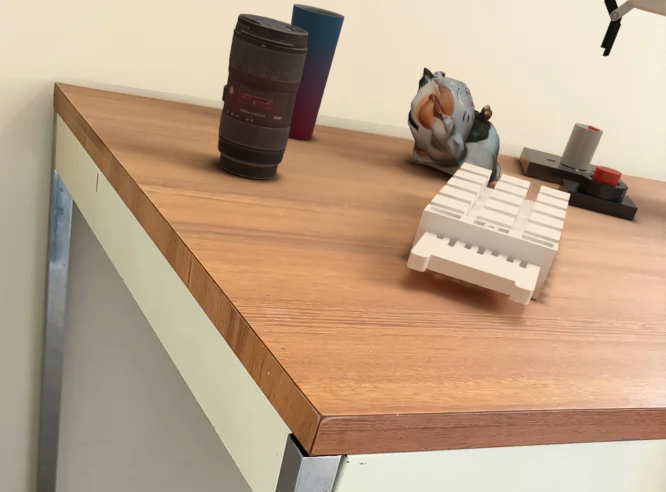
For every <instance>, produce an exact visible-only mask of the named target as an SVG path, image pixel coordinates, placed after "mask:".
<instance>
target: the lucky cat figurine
mask: <svg viewBox="0 0 666 492" xmlns="http://www.w3.org/2000/svg"><path fill="white" fill-rule="evenodd" d="M475 107H476V106H475V103H474V100H473V96H472V93H471V91H470V88H469V87H468V86H467V84H466V82H463V81H461V80H459V79H455V78H452V77H447V76H446V72H443V70H438V71H435V72H432V71H431V70H430V69H429V68H427V67H423V71H422V76H421V78H420V79H419V80H418V88H417V92H416V94H415V96H414V97H413V98H412V100H411V102H410V109H409V112H408V114H407V125H408V127H409V131H410V132H411V136H412V138H413V140H414V144H413V149H412V157H411V158H412V159H411V160H412V163H413V164H420V165H425V166H428V167H431V168H434V169H436V170H438V171H441V172H443V173H446V174H448V175H451V176H452V177H453V176H454V174H455V173H456V172H457V171H458V169H460V167H461V166H462V165H463V164H464V162H465V163H468V164H472V165H475V166H478V167H482V168H485V169H488V170H492V173H491V176H490V179H489V181H488V184H487V186H488V185H489V184H491V183H492V182H498V181H499V179H500V178H501V171H502V167H501V164H500V163H499V162H498V157H499V154H500V153H499V152H500V148H501V147H500V142H501V141H500V136H499V133H498V131H497V129H496V127H495V126H494V123H492V122H491V121H490V120H491V118H492V116H493V110H492V109H491V107H490V104H488V105H485V106H483V107H482V108H481V110H480V111H478V110H477V109H475Z"/></svg>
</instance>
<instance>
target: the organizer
mask: <svg viewBox="0 0 666 492" xmlns="http://www.w3.org/2000/svg"><path fill="white" fill-rule="evenodd" d="M491 173H492V170H488V169H485V168H482V167H478V166H475V165H472V164H468V163H465V162H464V164H463V165H462V166H461V167H460V169H458V171H457V172H456V173H455V174H454V176H453V175H452V177H450V179H449V180H448V181H447V182H446V184H445V185H444V186H442V188H441V189H440V190H439V192H438V194H436V195H435V196H434V197H433V198H432V199H431V201H430V203H428V204H427V205H426V207H425V208H424V209H423V210H422V214H421V217H420V221H419V224H418V227H417V230H416V234H415V237H414V240H413V243H412V246H411V250H410V253H409V255H408V259H407V263H406V267H407V268H409V269H411V270H414V271H417V272H426V270H429V271H433V272H436V273H439V274H442V275H445V276H448V277H451V278H454V279H457V280H461V281H464V282H467V283H469V284H473V285H476V286H479V287H482V288H486V289H487V290H492V291H495V292H498V293H501V294H504V295H507V296H509V297H508V299H509V300H510V301H511V302H514V303H517V304H520V305H525V306H527V305H529V303H530V301H531V299H533V300H536V301H537V300H538V298H539V295H540V293H541V290H542V288H543V286H544V283H545V281H546V279H547V277H548V275H549V271H550V270H551V267H552V264H553V262H554V260H555V257H556V255H557V252H558V248H559V246H560V245H559V244H560V241H561V236H562V231H563V227H564V223H565V219H566V214H567V210H568V206H569V204H568V201H569V198H570V194H569V193H566V192H562V191H559V190H558V189H555V188H552V187H549V186H545V185H541V186H540V188H539V191H538V194H537V196H536V199H535V200H531V199H528V198H526V196H527V194H528V192H529V188H530V186H531V183H532V182H531V181H529V180H526V179H522V178H518V177H515V176H512V175H508V174H506V173H501V175H500V178H499V179H498V180H497V181H496V183H495V186H494V188H490V187H488V185H489V184H488V181H489V179H490V176H491ZM487 184H488V185H487Z"/></svg>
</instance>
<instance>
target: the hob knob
mask: <svg viewBox="0 0 666 492" xmlns="http://www.w3.org/2000/svg"><path fill="white" fill-rule="evenodd" d="M603 134H604V130H602V129H600V128H598V127H596V126H593V125H588V124H584V123H580V122H575V123H574V125H573V128H572V130H571V133H570V135H569V138H568V140H567V143H566V146H565V147H564V149H563V153H562V155H561V157H562V158H561V160H560V162H561V163H562V164H564V165H566V166H569V167H572V168H575V169H579V170H588V168H589V165H590V164H592V160H593V158H594V155H595V153H596V151H597V148H598V146H599V143H600V141H601V139H602V136H603Z"/></svg>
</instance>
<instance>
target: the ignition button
mask: <svg viewBox="0 0 666 492" xmlns="http://www.w3.org/2000/svg"><path fill="white" fill-rule="evenodd" d="M622 175H623V173H622V172H620V171H619V170H616V169H614V168H611V167H608V166H602V165H597V167H596V169H595V172H594V174H593V176H592V178H593V179H595V180H597V181H600V182H603V183H607V184H610V185H617V184H618V182H619V180H620V178H622Z"/></svg>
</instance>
